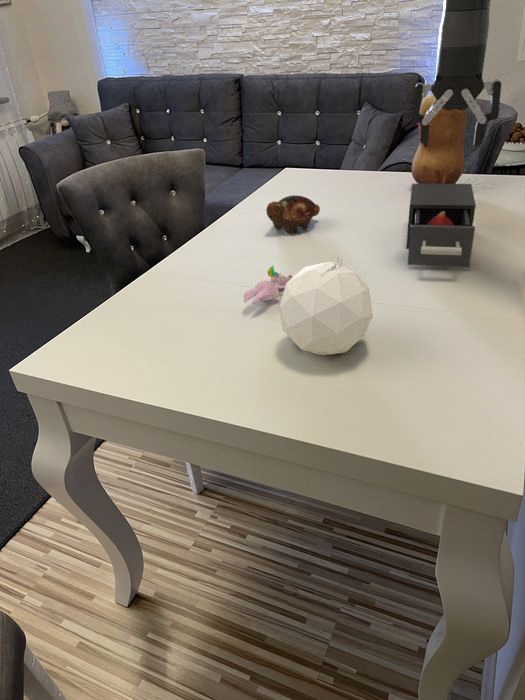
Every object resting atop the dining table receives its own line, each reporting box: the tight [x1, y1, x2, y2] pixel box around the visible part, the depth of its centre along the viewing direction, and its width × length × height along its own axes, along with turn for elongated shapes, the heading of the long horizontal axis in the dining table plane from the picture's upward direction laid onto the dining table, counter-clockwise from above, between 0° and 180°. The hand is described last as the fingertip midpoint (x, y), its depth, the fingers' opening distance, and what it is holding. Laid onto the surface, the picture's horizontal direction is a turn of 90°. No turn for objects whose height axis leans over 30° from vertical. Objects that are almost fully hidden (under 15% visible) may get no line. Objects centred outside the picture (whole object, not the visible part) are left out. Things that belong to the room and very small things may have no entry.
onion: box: [427, 212, 454, 226], centre depth 105 cm, size 6×6×8 cm
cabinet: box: [405, 183, 476, 250], centre depth 116 cm, size 15×13×10 cm
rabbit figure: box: [243, 265, 293, 304], centre depth 98 cm, size 6×6×15 cm
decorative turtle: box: [265, 194, 321, 235], centre depth 127 cm, size 10×15×8 cm, turn 132°
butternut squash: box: [411, 92, 468, 184], centre depth 139 cm, size 14×13×25 cm
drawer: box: [407, 208, 476, 268], centre depth 105 cm, size 18×11×8 cm, turn 165°
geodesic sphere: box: [278, 257, 374, 356], centre depth 81 cm, size 15×14×14 cm
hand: (450, 145), depth 96 cm, fingers open, 8 cm apart
